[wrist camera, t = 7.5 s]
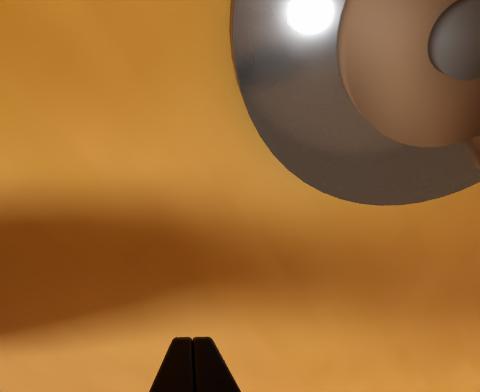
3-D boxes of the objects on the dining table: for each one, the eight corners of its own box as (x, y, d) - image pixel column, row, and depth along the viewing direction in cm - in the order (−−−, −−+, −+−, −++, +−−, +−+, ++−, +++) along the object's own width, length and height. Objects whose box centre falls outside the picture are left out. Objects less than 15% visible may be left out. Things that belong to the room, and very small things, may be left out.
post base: (212, 183, 21) (220, 244, 16) (261, -314, 12) (305, -454, 8) (504, 196, 24) (575, 251, 19) (713, -198, 15) (924, -256, 11)
